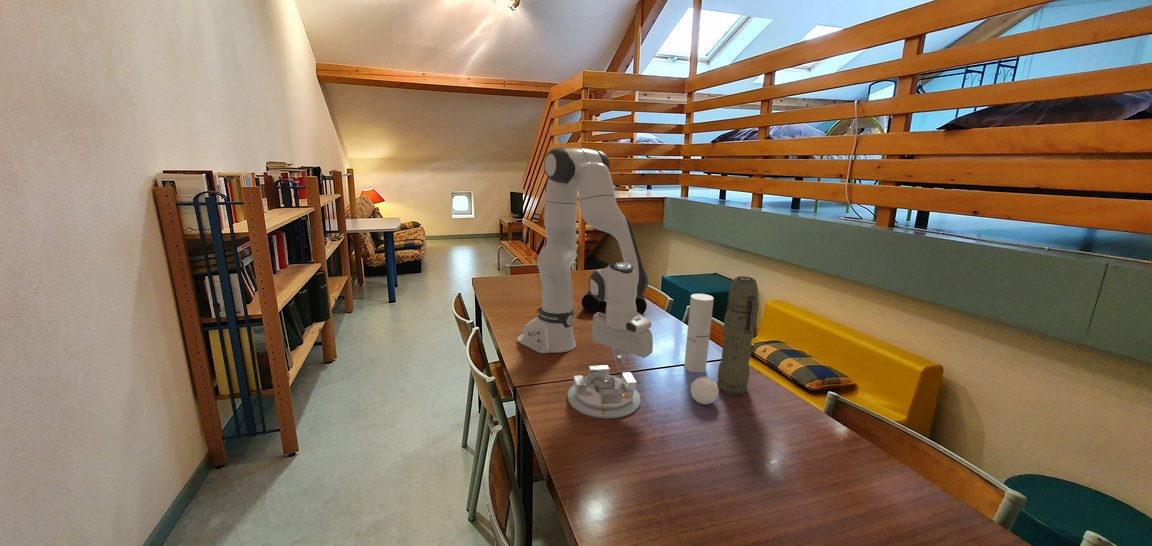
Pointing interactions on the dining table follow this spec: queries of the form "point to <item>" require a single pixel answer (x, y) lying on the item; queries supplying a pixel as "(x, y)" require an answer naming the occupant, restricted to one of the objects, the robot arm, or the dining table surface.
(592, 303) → the binoculars
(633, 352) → the robot arm
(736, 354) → the thermos
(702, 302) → the cylindrical container
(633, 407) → the cap plate
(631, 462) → the dining table surface
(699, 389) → the geometric ball
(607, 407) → the tabbed round base
